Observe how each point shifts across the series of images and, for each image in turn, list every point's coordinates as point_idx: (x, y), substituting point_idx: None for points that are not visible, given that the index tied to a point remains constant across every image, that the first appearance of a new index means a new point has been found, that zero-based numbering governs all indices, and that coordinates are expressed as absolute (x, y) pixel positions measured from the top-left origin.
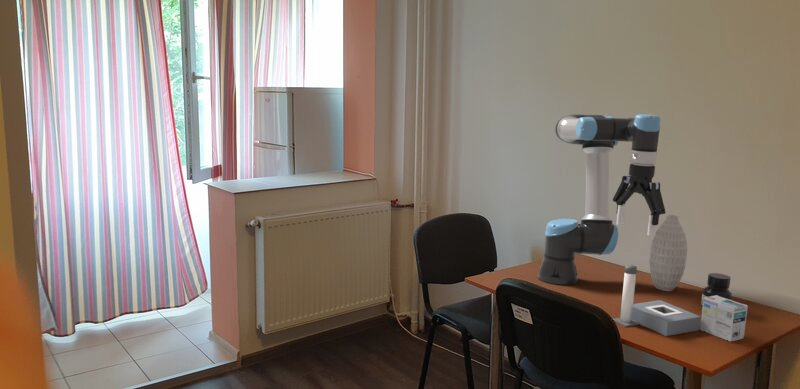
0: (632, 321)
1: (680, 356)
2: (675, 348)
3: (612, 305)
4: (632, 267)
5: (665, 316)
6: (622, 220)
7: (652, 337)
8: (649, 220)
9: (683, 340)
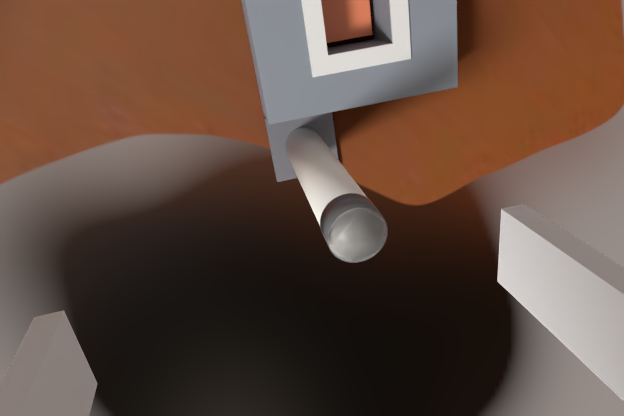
0: (312, 124)
1: (550, 133)
2: (510, 112)
3: (120, 89)
4: (376, 237)
5: (412, 55)
6: (63, 373)
7: (428, 129)
8: (616, 381)
9: (476, 41)
